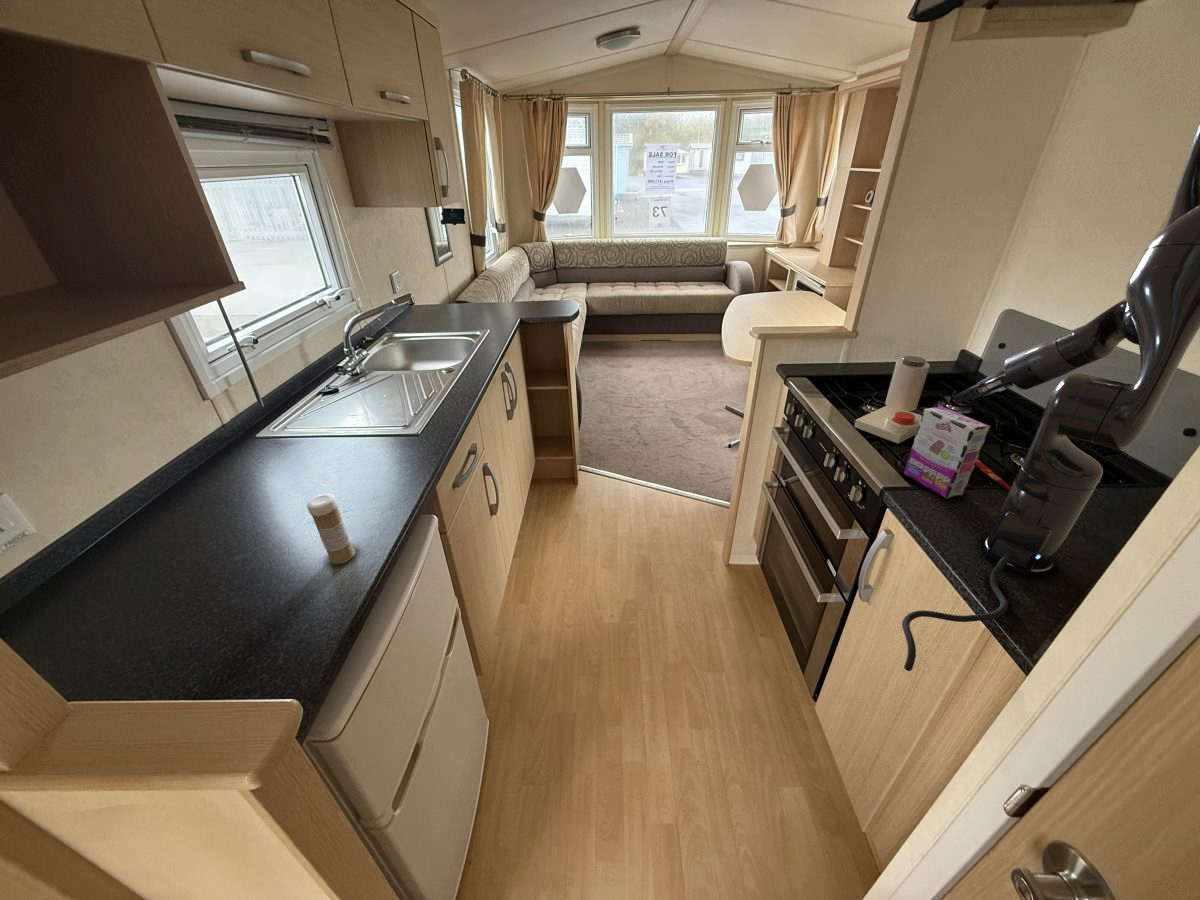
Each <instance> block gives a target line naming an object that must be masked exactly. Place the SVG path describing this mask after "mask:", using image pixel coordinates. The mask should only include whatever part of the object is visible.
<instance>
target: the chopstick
mask: <svg viewBox="0 0 1200 900" xmlns="http://www.w3.org/2000/svg"><path fill="white" fill-rule="evenodd" d="M974 467H976V468H978V469H979V470H980V471H982V472H983V474H986V475H987V476H988V477H989V478H991V479H992V480H994V481H995V482H996V483H998V484H999V485H1000V486H1002V487H1003V488H1004V489H1006V490H1007V491H1008V492H1009V491H1010V489H1011V487H1012V486H1011V485H1009V484H1008V483H1007V482H1006V481H1005V480H1003V479H1002V478H1001V477H999V476H998V475H997V474H996V473H995V472H994V471H992V470H991V469H990V468H989V467H988V466H987V465H985V464H984V463H983V462H982V461H981V460H979V458H977V461H976V464H975V466H974Z"/></svg>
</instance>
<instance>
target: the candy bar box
mask: <svg viewBox="0 0 1200 900" xmlns="http://www.w3.org/2000/svg"><path fill="white" fill-rule="evenodd" d="M990 428H991V425H989V424H987V423H984V422H981V421H979V420H976V419H974V418H971V417H969V416H966V415H964V414H962V413H960V412H958V411H954V410H953V409H950V408H947V407H945V406H942V405H939V406H933V407H929V408H924V409H923V411H922V418H921V421H920V424H919V427H918V430H917V434H916V435H915V436H914V440H913V443H912V447H911V449H910V453H909V456H908V459H907V462H906V465H905V468H904V471H903V474H904V475H905V476H907V477H908V478H910V479H912V480H913V481H915V482H917V483H919V484H920V485H922V486H924V487H925V488H927V489H928V490H930V491H932V492H934V493H936V494H937V495H939V496H941V497H943V498H945V499H952V498H955V497H956V498H957V497H960V496H964V494H965V491H966V488H967V486H968V484H969V481H970V478H971V476H972V474H973V471H974V469H975V467H976V466H975V464H976V461H977V459H979V457H980V454H981V451H982V449H983V446H984V443H985V441H986V438H987V436H988V434H989V431H990Z"/></svg>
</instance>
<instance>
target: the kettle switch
mask: <svg viewBox="0 0 1200 900" xmlns="http://www.w3.org/2000/svg"><path fill="white" fill-rule="evenodd" d="M914 418H915V416H914V415H913V414H911V413H908V412H896V413H895V416H894V419H893V421H894V422H895V423H898V424H900V425H912V424H913V421H914Z"/></svg>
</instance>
